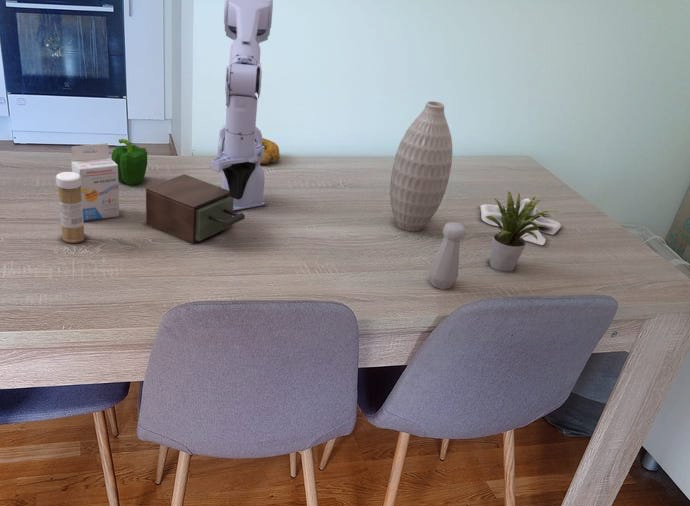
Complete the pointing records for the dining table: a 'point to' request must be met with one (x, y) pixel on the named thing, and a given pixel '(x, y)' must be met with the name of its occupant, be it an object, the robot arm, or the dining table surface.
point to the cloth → (549, 229)
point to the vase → (421, 169)
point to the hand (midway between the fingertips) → (236, 197)
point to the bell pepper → (130, 162)
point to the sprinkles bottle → (70, 206)
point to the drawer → (215, 218)
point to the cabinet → (179, 204)
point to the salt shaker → (447, 257)
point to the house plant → (512, 233)
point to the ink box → (97, 181)
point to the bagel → (269, 152)
